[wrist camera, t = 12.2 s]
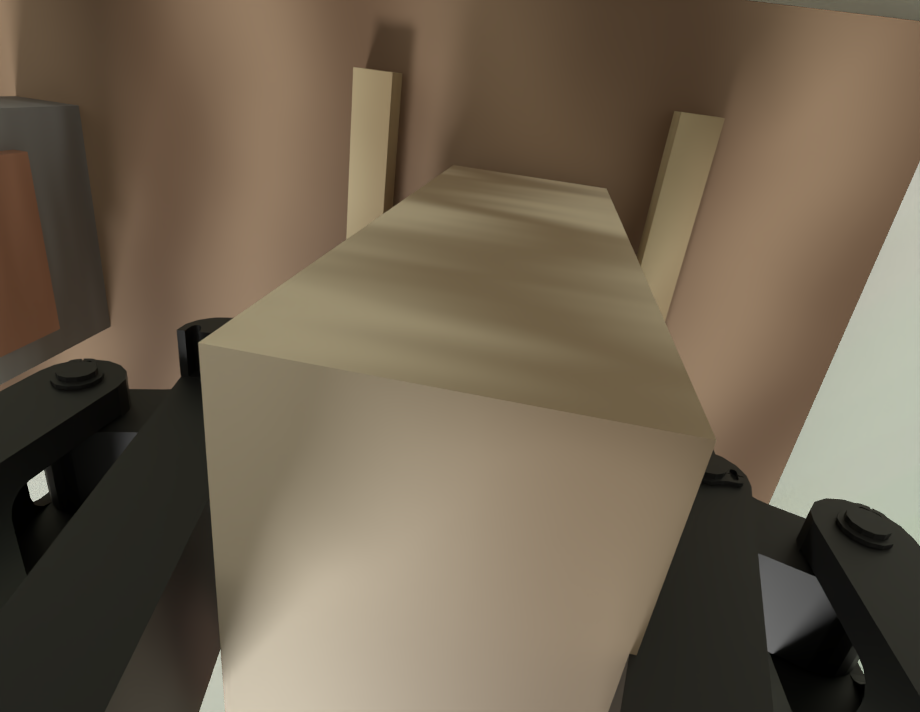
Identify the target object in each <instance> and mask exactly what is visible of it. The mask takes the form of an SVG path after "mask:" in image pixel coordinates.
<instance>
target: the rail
mask: <svg viewBox="0 0 920 712" xmlns="http://www.w3.org/2000/svg"><path fill="white" fill-rule="evenodd" d="M919 161H920V21H915V20H907V19H898V18H890V17H882V16H873V15H865V14H857V13H848V12H840V11H832V10H823V9H815V8H807V7H798V6H790V5H782V4H773V3H765V2H756V1H748V0H0V391H2V390H4V389H5V388H7V387H9V386H11V385H13V384H15V383H17V382H19V381H21V380H23V379H25V378H26V377H28V376H30V375H32V374H34V373H36V372H38V371H40V370H42V369H45V368H47V367H50V366H53V365H55V364H60V363H64V362H68V361H70V360H73V359H82V360H84V358H92V359H96V360H105V361H110V362H113V363H116V364H119V365H121V366H122V367H123V368H124V369H125V370H126V371H127V377H128V385H129V389H172V388H173V386H174V385H175V384H176V382H177V381H178V380H179V379H180V377H181V374H180V363H179V352H178V341H177V329H179V328H180V327H182V326H183V325H185V324H187V323H190V322H193V321H196V320H200V319H207V318H215V317H224V318H234V317H236V316H237V315H239V314H240V313H242V312H243V311H244V310H246V309H247V308H249V307H250V306H252V305H253V304H254V303H256V302H257V301H259V300H260V299H262V298H263V297H265V296H266V295H267V294H269V293H270V292H272V291H273V290H275V289H276V288H277V287H279V286H280V285H282V284H283V283H285V282H286V281H288V280H289V279H290V278H292V277H293V276H295V275H296V274H298V273H299V272H300V271H302V270H303V269H305V268H306V267H308V266H309V265H311V264H312V263H313V262H315V261H316V260H318V259H319V258H321V257H322V256H323V255H325V254H326V253H328V252H329V251H331V250H332V249H334V248H335V247H336V246H338V245H339V244H341V243H342V242H344V241H345V240H346V239H348V238H349V237H351V236H352V235H354V234H355V233H357V232H358V231H359V230H361V229H362V228H364V227H365V226H367V225H368V224H369V223H371V222H372V221H374V220H375V219H377V218H378V217H380V216H381V215H382V214H384V213H385V212H387V211H388V210H390V209H391V208H392V207H394V206H395V205H397V204H398V203H400V202H401V201H403V200H404V199H405V198H407V197H408V196H410V195H411V194H413V193H414V192H415V191H417V190H418V189H420V188H421V187H423V186H424V185H426V184H427V183H428V182H430V181H431V180H433V179H434V178H436V177H437V176H438V175H440V174H441V173H443V172H444V171H446V170H447V169H449V168H450V167H451V166H453V165H456V166H463V167H469V168H476V169H483V170H489V171H496V172H502V173H509V174H515V175H522V176H528V177H535V178H541V179H548V180H554V181H561V182H567V183H574V184H580V185H587V186H593V187H600V188H606V189H607V191H608V193H609V195H610V198H611V200H612V202H613V204H614V207H615V209H616V211H617V214H618V216H619V218H620V220H621V223H622V225H623V227H624V230H625V232H626V234H627V236H628V239H629V241H630V243H631V246H632V248H633V250H634V252H635V255H636V257H637V259H638V262H639V264H640V266H641V268H642V271H643V273H644V275H645V278H646V280H647V282H648V284H649V287H650V289H651V291H652V294H653V296H654V298H655V300H656V303H657V305H658V307H659V310H660V312H661V314H662V316H663V319H664V321H665V323H666V326H667V328H668V330H669V332H670V335H671V337H672V339H673V342H674V344H675V346H676V348H677V351H678V353H679V355H680V358H681V360H682V362H683V364H684V367H685V369H686V371H687V374H688V376H689V378H690V380H691V383H692V385H693V387H694V390H695V392H696V394H697V396H698V399H699V401H700V403H701V406H702V408H703V410H704V412H705V415H706V417H707V419H708V422H709V424H710V426H711V428H712V431H713V433H714V435H715V438H716V440H717V441H716V444H715V446H714V449H713V450H714V452H715V454H716V455H719V456H721V457H723V458H725V459H726V460H728V461H730V462H731V463H733V464H735V465H736V466H737V467H738V468H739V469H740V470H741V471H742V472H743V473H744V474H745V475H746V476H747V477H748V480H749V482H750V484H751V487H752V497H754V498H756V499H757V500H760V501H762V502H764V503H766V504H769V502H770V500H771V498H772V495H773V493H774V491H775V488H776V486H777V484H778V482H779V479H780V477H781V475H782V473H783V470H784V468H785V466H786V463H787V461H788V459H789V457H790V454H791V452H792V450H793V448H794V445H795V443H796V441H797V438H798V436H799V434H800V432H801V429H802V427H803V425H804V423H805V420H806V418H807V416H808V413H809V411H810V409H811V407H812V404H813V402H814V400H815V398H816V395H817V393H818V391H819V389H820V386H821V384H822V382H823V379H824V377H825V375H826V373H827V370H828V368H829V366H830V364H831V361H832V359H833V357H834V354H835V352H836V350H837V348H838V345H839V343H840V341H841V339H842V336H843V334H844V332H845V329H846V327H847V325H848V323H849V320H850V318H851V316H852V314H853V311H854V309H855V307H856V304H857V302H858V300H859V298H860V295H861V293H862V291H863V289H864V286H865V284H866V282H867V279H868V277H869V275H870V273H871V270H872V268H873V266H874V264H875V261H876V259H877V257H878V255H879V252H880V250H881V248H882V245H883V243H884V241H885V239H886V236H887V234H888V232H889V230H890V227H891V225H892V223H893V220H894V218H895V216H896V214H897V211H898V209H899V207H900V205H901V202H902V200H903V198H904V195H905V193H906V191H907V189H908V186H909V184H910V182H911V180H912V177H913V175H914V173H915V170H916V168H917V166H918V164H919Z"/></svg>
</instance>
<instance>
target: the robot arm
mask: <svg viewBox="0 0 920 712" xmlns="http://www.w3.org/2000/svg"><path fill="white" fill-rule="evenodd" d="M231 319H233V318H224V317H215V318H207V319H200V320H196V321H193V322H190V323H187V324H185V325H183V326H182V327H180V328H179V329H177V341H178V352H179V363H180V374H181V377H180V379H179V380H178V381H177V382H176V384H175V385H174V386H173V388H172V389H129V385H128V377H127V371H126V370H125V369H124V368H123V367H122V366H121V365H119V364H116V363H113V362H110V361H105V360H96V359H92V358H84V360H82V359H73V360H70V361H68V362H64V363H60V364H55V365H53V366H50V367H47V368H45V369H42V370H40V371H38V372H36V373H34V374H32V375H30V376H28V377H26V378H25V379H23V380H21V381H19V382H17V383H15V384H13V385H11V386H9V387H7V388H5V389H4V390H2V391H0V712H199V710H200V707H201V704H202V701H203V698H204V696H205V693H206V690H207V687H208V684H209V681H210V678H211V675H212V672H213V669H214V666H215V663H216V660H217V657H218V655H219V652H220V649H221V648H220V634H219V621H218V607H217V593H216V579H215V566H214V552H213V538H212V525H211V511H210V497H209V484H208V470H207V456H206V442H205V429H204V415H203V401H202V388H201V374H200V360H199V347H198V342H200V341H201V340H203V339H204V338H206V337H207V336H208V335H210V334H211V333H213V332H214V331H216V330H217V329H219V328H220V327H221V326H223V325H224V324H226V323H227V322H229V321H230V320H231ZM43 470H44V471H45V476H46V480H47V485H48V489H49V492H48V493H47V494H46V495H44V496H43V497H42V498H41V499H39V500H37V501H35V502H33V501H32V500H31V498H30V494H29V490H28V486H27V482H28V481H29V480H30V479H32V478H33V477H35V476H36V475H37V474H39V473H40V472H42V471H43ZM859 659H860V661H861V663H862V666H863V669H864V674H863V672H862V670H861V668H860V666H859V664H858V660H859ZM608 712H920V546H919V545H918V544H917V542H916V541H915V540H914V539H913V538H912V537H911V536H910V535H909V534H908V533H907V532H906V531H905V530H904V529H903V528H902V527H901V526H899V525H898V524H896V523H895V522H893V521H892V520H890V519H889V518H887V517H886V516H885V515H884V514H882V513H880V512H878V511H876V510H874V509H870V507H868V506H865V505H862V504H859V503H853V502H849V501H846V500H841V499H823V500H819V501H816V502H814V504H813V506H812V508H811V510H810V512H809V514H808V516H807V518H806V519H805V518H803V517H800V516H797V515H795V514H792V513H789V512H787V511H784V510H781V509H779V508H776V507H774V506H771V505H769V504H766V503H764V502H762V501H760V500H757V499H756V498H754V497H752V487H751V484H750V482H749V480H748V477H747V476H746V475H745V474H744V473H743V472H742V471H741V470H740V469H739V468H738V467H737V466H736V465H735V464H733V463H731V462H730V461H728V460H726V459H725V458H723V457H721V456H719V455H716V454H715V452H714V450H713V452H712V454H711V457H710V460H709V462H708V465H707V468H706V470H705V473H704V476H703V479H702V481H701V484H700V487H699V489H698V492H697V495H696V497H695V500H694V503H693V505H692V508H691V511H690V513H689V516H688V519H687V521H686V524H685V527H684V529H683V532H682V535H681V537H680V540H679V543H678V546H677V548H676V551H675V554H674V556H673V559H672V562H671V564H670V567H669V570H668V572H667V575H666V578H665V580H664V583H663V586H662V588H661V591H660V594H659V596H658V599H657V602H656V604H655V607H654V610H653V613H652V615H651V618H650V621H649V623H648V626H647V629H646V631H645V634H644V637H643V639H642V642H641V645H640V647H639V650H638V653H637V655H633V654H629V656H628V659H627V661H626V664H625V667H624V670H623V673H622V675H621V678H620V681H619V684H618V686H617V689H616V692H615V695H614V697H613V700H612V703H611V706H610V708H609V711H608Z"/></svg>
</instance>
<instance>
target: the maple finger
mask: <svg viewBox="0 0 920 712" xmlns="http://www.w3.org/2000/svg"><path fill="white" fill-rule="evenodd" d="M198 347H199V360H200V374H201V388H202V401H203V415H204V429H205V442H206V456H207V470H208V484H209V497H210V511H211V525H212V538H213V552H214V566H215V579H216V593H217V607H218V621H219V634H220V648H221V662H222V675H223V689H224V703H225V712H608V711H609V708H610V706H611V703H612V700H613V697H614V695H615V692H616V689H617V686H618V684H619V681H620V678H621V675H622V673H623V670H624V667H625V664H626V661H627V659H628V656H629V654H633V655H637V653H638V650H639V647H640V645H641V642H642V639H643V637H644V634H645V631H646V629H647V626H648V623H649V621H650V618H651V615H652V613H653V610H654V607H655V604H656V602H657V599H658V596H659V594H660V591H661V588H662V586H663V583H664V580H665V578H666V575H667V572H668V570H669V567H670V564H671V562H672V559H673V556H674V554H675V551H676V548H677V546H678V543H679V540H680V537H681V535H682V532H683V529H684V527H685V524H686V521H687V519H688V516H689V513H690V511H691V508H692V505H693V503H694V500H695V497H696V495H697V492H698V489H699V487H700V484H701V481H702V479H703V476H704V473H705V470H706V468H707V465H708V462H709V460H710V457H711V454H712V452H713V449H714V446H715V444H716V441H717V440H716V438H715V435H714V433H713V431H712V428H711V426H710V424H709V422H708V419H707V417H706V415H705V412H704V410H703V408H702V406H701V403H700V401H699V399H698V396H697V394H696V392H695V390H694V387H693V385H692V383H691V380H690V378H689V376H688V374H687V371H686V369H685V367H684V364H683V362H682V360H681V358H680V355H679V353H678V351H677V348H676V346H675V344H674V342H673V339H672V337H671V335H670V332H669V330H668V328H667V326H666V323H665V321H664V319H663V316H662V314H661V312H660V310H659V307H658V305H657V303H656V300H655V298H654V296H653V294H652V291H651V289H650V287H649V284H648V282H647V280H646V278H645V275H644V273H643V271H642V268H641V266H640V264H639V262H638V259H637V257H636V255H635V252H634V250H633V248H632V246H631V243H630V241H629V239H628V236H627V234H626V232H625V230H624V227H623V225H622V223H621V220H620V218H619V216H618V214H617V211H616V209H615V207H614V204H613V202H612V200H611V198H610V195H609V193H608V191H607V189H606V188H600V187H593V186H587V185H580V184H574V183H567V182H561V181H554V180H548V179H541V178H535V177H528V176H522V175H515V174H509V173H502V172H496V171H489V170H483V169H476V168H469V167H463V166H456V165H453V166H451V167H450V168H449V169H447V170H446V171H444V172H443V173H441V174H440V175H438V176H437V177H436V178H434V179H433V180H431V181H430V182H428V183H427V184H426V185H424V186H423V187H421V188H420V189H418V190H417V191H415V192H414V193H413V194H411V195H410V196H408V197H407V198H405V199H404V200H403V201H401V202H400V203H398V204H397V205H395V206H394V207H392V208H391V209H390V210H388V211H387V212H385V213H384V214H382V215H381V216H380V217H378V218H377V219H375V220H374V221H372V222H371V223H369V224H368V225H367V226H365V227H364V228H362V229H361V230H359V231H358V232H357V233H355V234H354V235H352V236H351V237H349V238H348V239H346V240H345V241H344V242H342V243H341V244H339V245H338V246H336V247H335V248H334V249H332V250H331V251H329V252H328V253H326V254H325V255H323V256H322V257H321V258H319V259H318V260H316V261H315V262H313V263H312V264H311V265H309V266H308V267H306V268H305V269H303V270H302V271H300V272H299V273H298V274H296V275H295V276H293V277H292V278H290V279H289V280H288V281H286V282H285V283H283V284H282V285H280V286H279V287H277V288H276V289H275V290H273V291H272V292H270V293H269V294H267V295H266V296H265V297H263V298H262V299H260V300H259V301H257V302H256V303H254V304H253V305H252V306H250V307H249V308H247V309H246V310H244V311H243V312H242V313H240V314H239V315H237V316H236V317H234V318H233V319H231V320H230V321H229V322H227V323H226V324H224V325H223V326H221V327H220V328H219V329H217V330H216V331H214V332H213V333H211V334H210V335H208V336H207V337H206V338H204V339H203V340H201V341H200V342H198Z"/></svg>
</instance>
